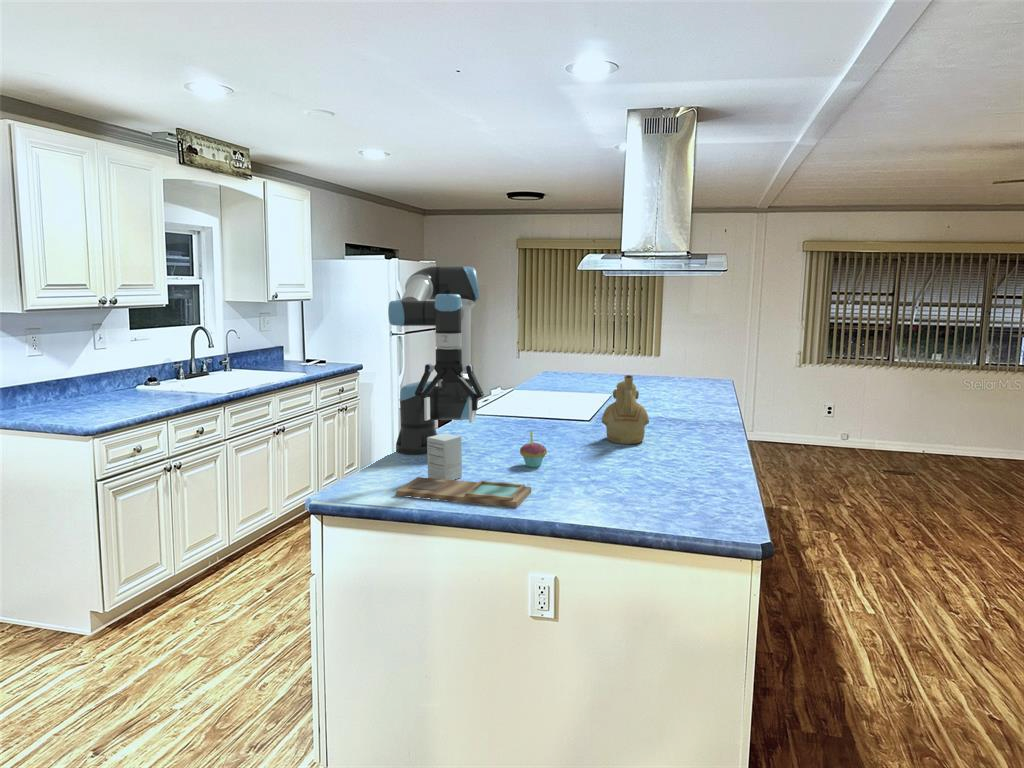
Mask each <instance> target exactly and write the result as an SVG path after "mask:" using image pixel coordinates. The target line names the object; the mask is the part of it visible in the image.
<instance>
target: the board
mask: <svg viewBox="0 0 1024 768" xmlns="http://www.w3.org/2000/svg"><path fill="white" fill-rule="evenodd" d="M531 493H532V487H531V486H525V484H523V483H512V482H504V481H503V482H501V481H500V482H499V481H490V480H489V481H488V480H480V481H467V480H466V481H465V480H457V479H456V480H445V479H433V478H428V477H423V476H422V477H420V476H417V477H415V478H414V479H412V480H411V481H409V482H407V483H406V484H404V485H403V486H401V487H400V488H398V489H397V490H395V496H396V495H398V496H397V497H400V496H411V497H420V498H419V499H421V498H430V499H429V500H431V499H439V500H438V501H441V500H447V501H446V502H452V501H457V502H456V503H462V502H465V503H464V504H473V505H486V506H493V505H495V506H496V507H503V508H504V507H505V508H515V509H516V508H518V507H519V506H520V505H521V504H522V503H523V502H524V501H525V500H526V498H528V496H530V494H531ZM474 503H475V504H474ZM495 506H494V507H495Z"/></svg>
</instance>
